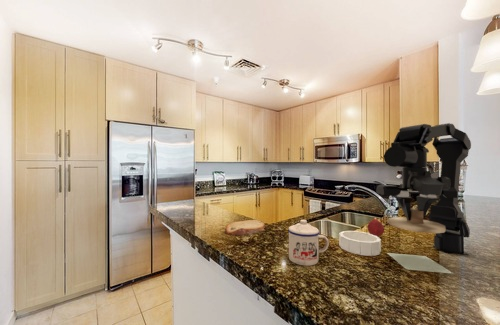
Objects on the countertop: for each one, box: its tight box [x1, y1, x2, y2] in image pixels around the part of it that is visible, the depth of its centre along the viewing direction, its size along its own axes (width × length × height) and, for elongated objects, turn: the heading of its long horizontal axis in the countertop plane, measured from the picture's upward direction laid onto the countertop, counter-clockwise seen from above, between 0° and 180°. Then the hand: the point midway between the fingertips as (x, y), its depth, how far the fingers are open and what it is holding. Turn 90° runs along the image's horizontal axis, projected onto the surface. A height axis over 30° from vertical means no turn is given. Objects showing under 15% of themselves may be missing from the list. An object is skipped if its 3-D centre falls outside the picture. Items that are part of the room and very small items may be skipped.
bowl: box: [338, 230, 382, 257], centre depth 70 cm, size 12×12×4 cm
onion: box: [366, 217, 385, 238], centre depth 83 cm, size 6×6×8 cm
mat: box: [386, 252, 454, 275], centre depth 60 cm, size 11×11×1 cm
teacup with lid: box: [287, 219, 330, 267], centre depth 61 cm, size 12×9×12 cm
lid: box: [387, 208, 446, 234], centre depth 60 cm, size 13×13×5 cm
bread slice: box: [224, 219, 266, 236], centre depth 92 cm, size 18×18×4 cm
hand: (414, 220), depth 60 cm, fingers closed on lid, 3 cm apart
